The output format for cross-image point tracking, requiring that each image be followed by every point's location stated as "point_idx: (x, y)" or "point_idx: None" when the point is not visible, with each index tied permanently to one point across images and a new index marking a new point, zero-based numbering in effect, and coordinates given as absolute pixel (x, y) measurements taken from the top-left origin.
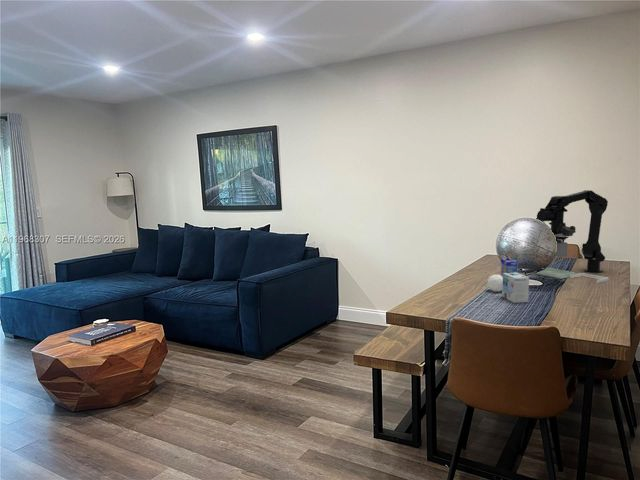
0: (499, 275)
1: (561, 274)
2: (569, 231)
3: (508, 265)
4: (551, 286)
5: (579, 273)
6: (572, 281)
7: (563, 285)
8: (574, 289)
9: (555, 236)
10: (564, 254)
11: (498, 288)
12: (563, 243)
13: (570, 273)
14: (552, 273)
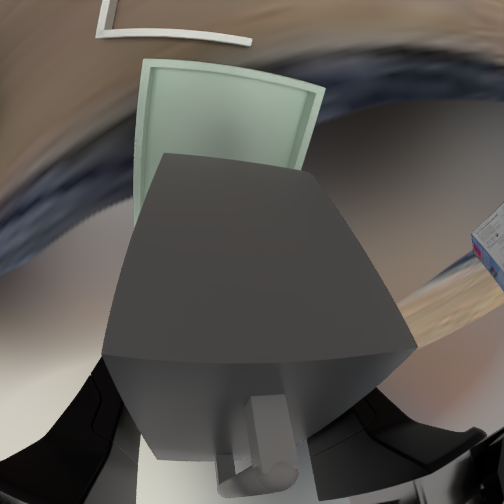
0: None
1: (197, 130)
2: None
3: None
4: (491, 90)
5: (126, 34)
6: (346, 7)
7: (459, 43)
8: (487, 3)
9: (435, 502)
10: (225, 171)
11: None
12: (333, 349)
13: (203, 62)
14: (305, 154)
